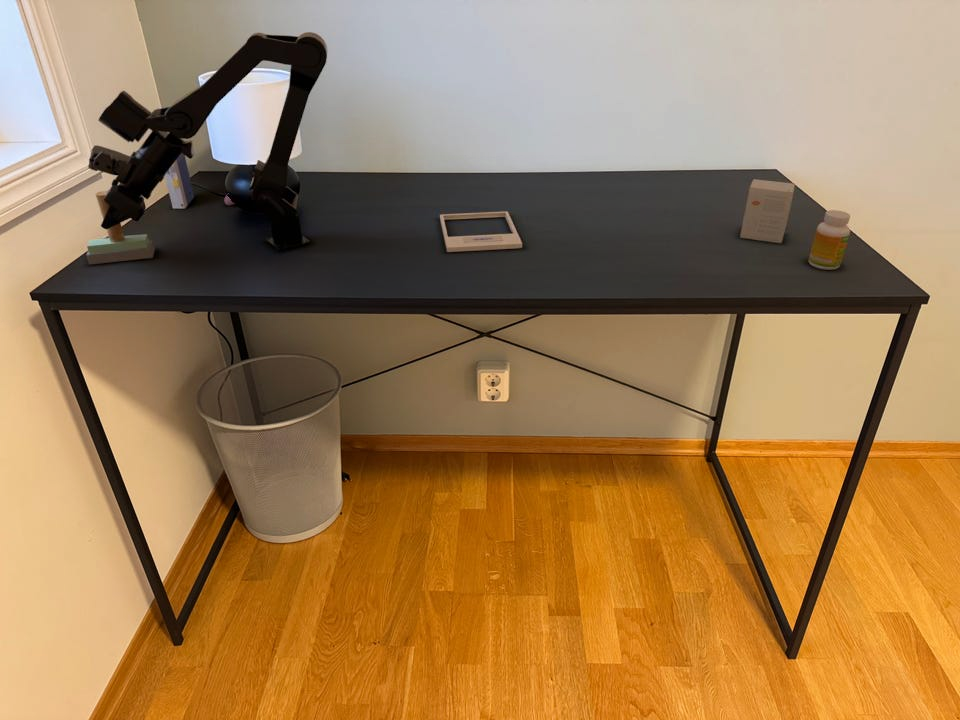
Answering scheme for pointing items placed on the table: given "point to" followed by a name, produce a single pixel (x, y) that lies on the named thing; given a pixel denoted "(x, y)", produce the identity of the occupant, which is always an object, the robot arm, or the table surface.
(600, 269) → the table surface
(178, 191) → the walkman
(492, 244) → the photo frame
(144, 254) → the wiper
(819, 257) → the supplement bottle
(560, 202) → the table surface
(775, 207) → the small box
